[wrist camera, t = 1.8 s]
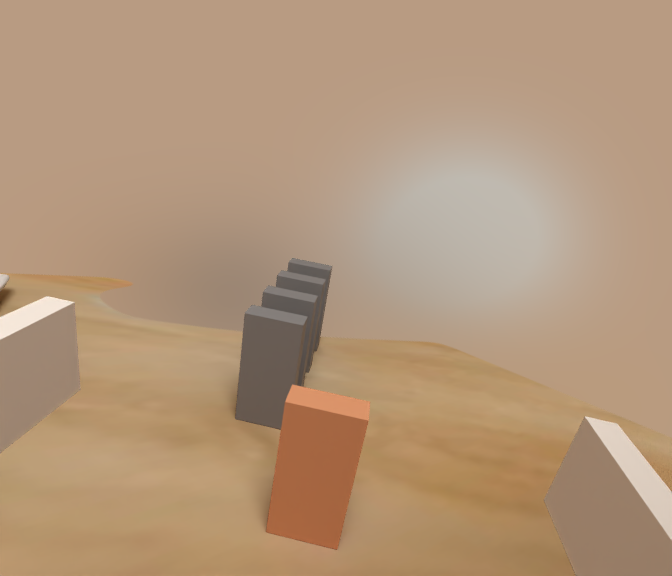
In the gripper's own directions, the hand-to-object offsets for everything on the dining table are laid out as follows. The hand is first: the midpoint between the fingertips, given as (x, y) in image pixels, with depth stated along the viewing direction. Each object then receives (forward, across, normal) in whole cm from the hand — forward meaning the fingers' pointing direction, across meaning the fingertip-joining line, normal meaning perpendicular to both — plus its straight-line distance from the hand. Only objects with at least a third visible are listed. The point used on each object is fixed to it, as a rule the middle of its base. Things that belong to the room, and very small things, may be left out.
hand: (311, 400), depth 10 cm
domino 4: (+22, -6, -20) cm, 30 cm away
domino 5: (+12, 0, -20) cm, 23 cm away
